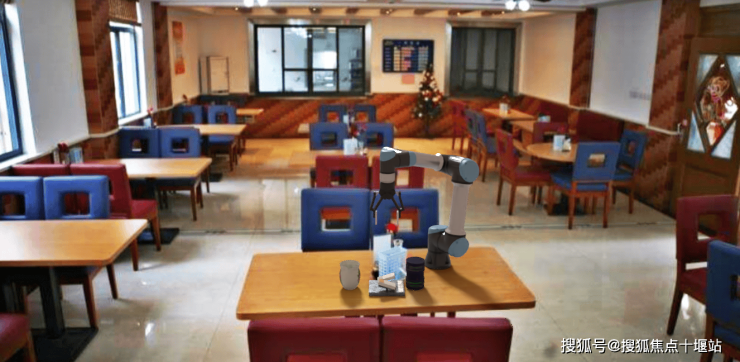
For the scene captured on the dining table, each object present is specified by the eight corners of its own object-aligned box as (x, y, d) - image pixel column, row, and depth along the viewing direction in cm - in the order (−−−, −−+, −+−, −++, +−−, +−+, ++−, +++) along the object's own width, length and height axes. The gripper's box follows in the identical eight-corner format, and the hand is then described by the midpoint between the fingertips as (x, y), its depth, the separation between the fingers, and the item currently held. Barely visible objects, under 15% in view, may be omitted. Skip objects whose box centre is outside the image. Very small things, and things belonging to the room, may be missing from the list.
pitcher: (360, 279, 308) (360, 255, 305) (360, 293, 291) (360, 268, 288) (340, 279, 308) (339, 255, 305) (338, 293, 291) (338, 268, 288)
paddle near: (394, 286, 293) (395, 283, 293) (394, 289, 289) (395, 286, 289) (377, 280, 293) (378, 277, 292) (377, 284, 288) (378, 281, 288)
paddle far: (394, 275, 300) (393, 272, 300) (395, 278, 296) (394, 275, 295) (378, 279, 301) (377, 276, 300) (378, 283, 296) (377, 280, 296)
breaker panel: (403, 283, 303) (403, 277, 302) (404, 296, 288) (404, 289, 287) (369, 283, 303) (369, 277, 302) (368, 296, 288) (368, 289, 288)
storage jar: (409, 291, 294) (409, 264, 290) (402, 283, 303) (403, 257, 299) (427, 289, 296) (427, 262, 292) (420, 281, 305) (421, 255, 302)
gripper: (409, 179, 285) (409, 221, 290) (364, 179, 285) (364, 221, 291) (410, 182, 278) (409, 226, 283) (364, 182, 278) (364, 226, 283)
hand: (386, 223), depth 287 cm, fingers open, 10 cm apart
